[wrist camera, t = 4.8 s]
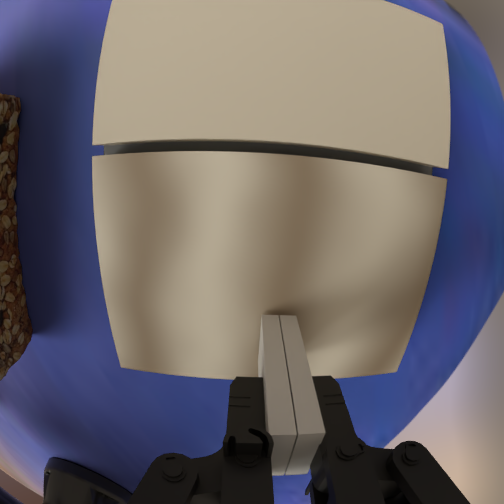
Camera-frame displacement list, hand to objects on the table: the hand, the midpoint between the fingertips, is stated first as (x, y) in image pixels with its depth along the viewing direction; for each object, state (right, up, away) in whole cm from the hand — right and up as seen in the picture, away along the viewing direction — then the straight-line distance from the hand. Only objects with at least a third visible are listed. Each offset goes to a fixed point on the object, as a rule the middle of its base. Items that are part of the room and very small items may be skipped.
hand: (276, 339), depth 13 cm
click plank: (0, +3, +1) cm, 3 cm away
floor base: (0, +7, +1) cm, 7 cm away
